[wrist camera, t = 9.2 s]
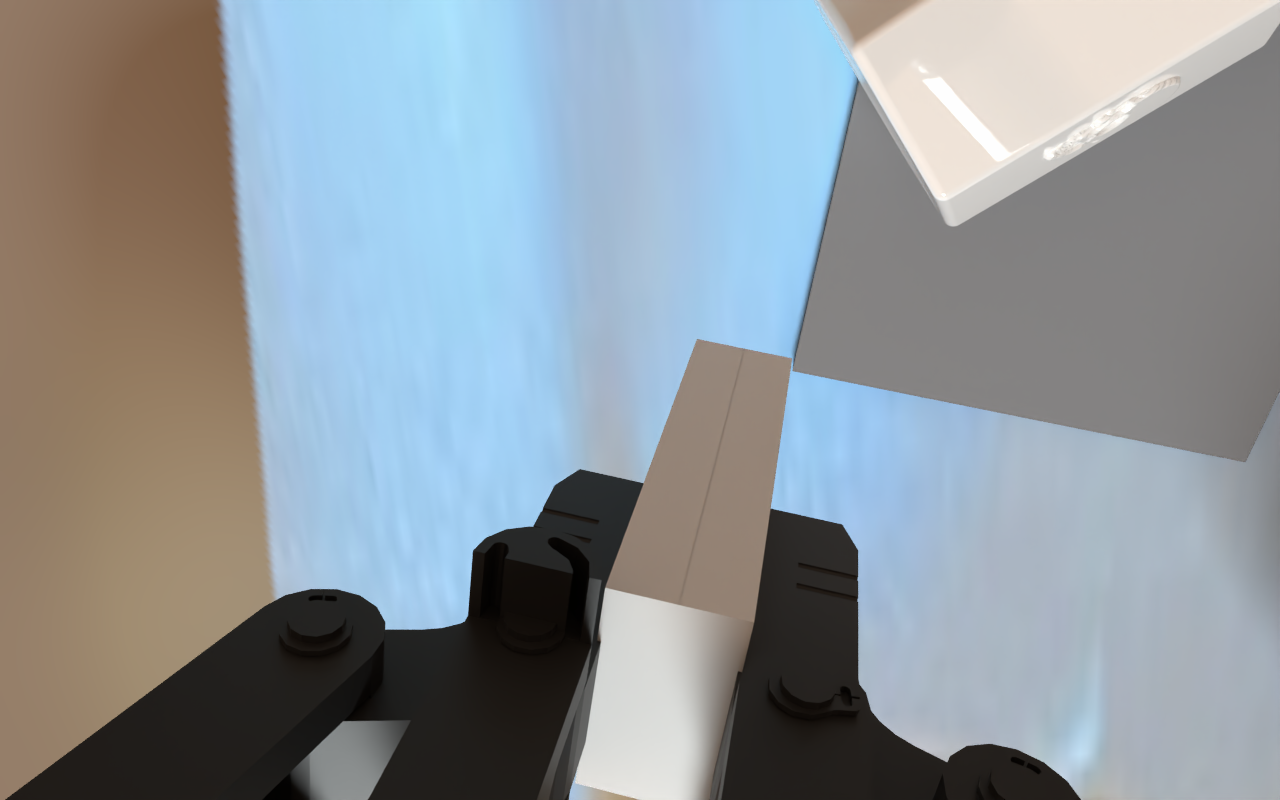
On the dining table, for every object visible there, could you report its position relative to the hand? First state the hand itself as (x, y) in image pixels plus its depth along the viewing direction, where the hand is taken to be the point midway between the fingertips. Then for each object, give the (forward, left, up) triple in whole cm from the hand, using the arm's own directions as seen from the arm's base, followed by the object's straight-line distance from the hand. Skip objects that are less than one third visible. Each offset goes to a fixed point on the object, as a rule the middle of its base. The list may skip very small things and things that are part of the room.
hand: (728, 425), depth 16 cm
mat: (-10, 0, -20) cm, 23 cm away
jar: (-2, -3, -16) cm, 16 cm away
